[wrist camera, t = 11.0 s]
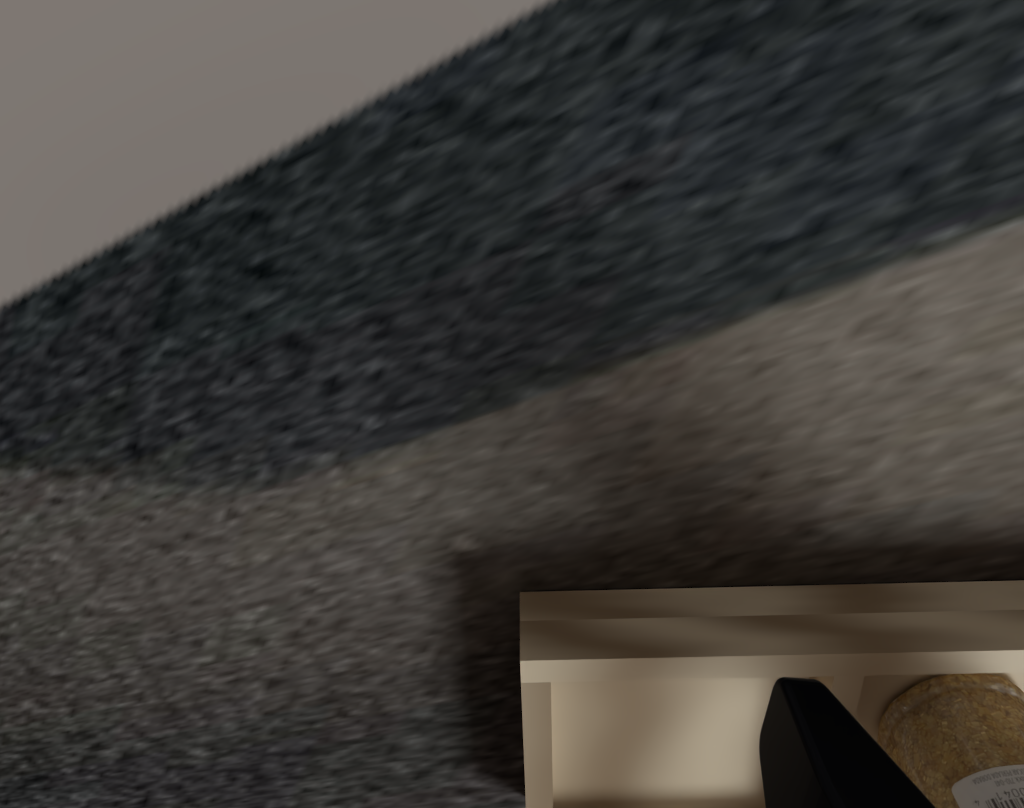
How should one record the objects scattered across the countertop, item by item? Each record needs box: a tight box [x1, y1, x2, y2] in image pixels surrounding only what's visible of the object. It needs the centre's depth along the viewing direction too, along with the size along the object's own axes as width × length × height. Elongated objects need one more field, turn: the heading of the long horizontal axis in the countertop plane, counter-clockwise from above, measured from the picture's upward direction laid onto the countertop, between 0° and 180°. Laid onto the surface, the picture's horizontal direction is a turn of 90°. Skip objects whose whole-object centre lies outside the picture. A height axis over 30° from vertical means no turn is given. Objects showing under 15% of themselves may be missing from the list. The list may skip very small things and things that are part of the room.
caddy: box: [520, 580, 1024, 808], centre depth 26 cm, size 17×9×3 cm, turn 92°
